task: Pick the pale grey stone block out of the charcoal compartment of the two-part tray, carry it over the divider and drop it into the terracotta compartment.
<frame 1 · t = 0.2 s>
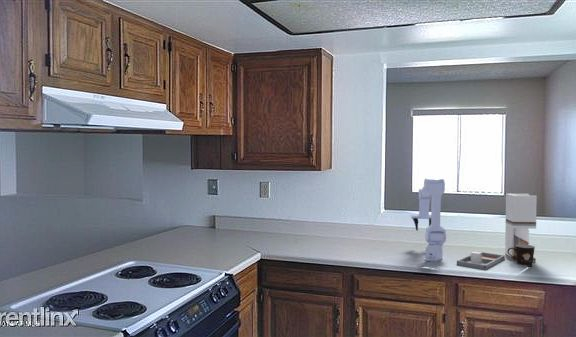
hand: (423, 230, 264), 11 cm above the worktop, tool pointing down, fingers open, 7 cm apart
stone: (476, 264, 219), point 1 cm above the worktop, touching tray
coffee maker: (520, 259, 232), on the worktop
coffee mug: (521, 265, 221), on the worktop
tray: (481, 263, 224), on the worktop
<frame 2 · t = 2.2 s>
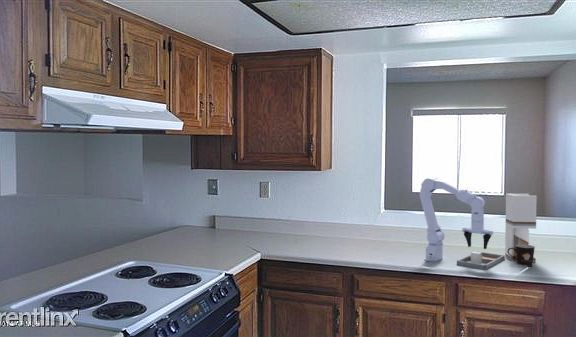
hand: (477, 247, 219), 9 cm above the worktop, tool pointing down, fingers open, 7 cm apart
nothing on the worktop moved.
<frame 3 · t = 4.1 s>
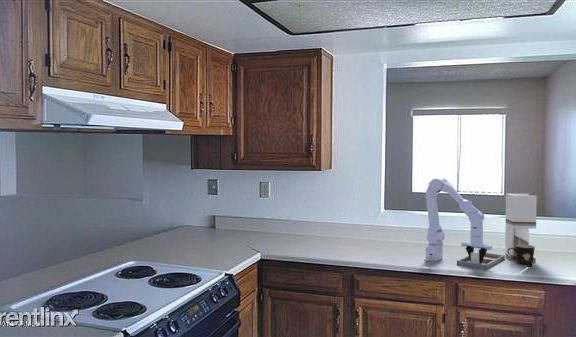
hand: (476, 262, 219), 2 cm above the worktop, tool pointing down, fingers closed on stone, 4 cm apart
stone: (476, 264, 219), point 1 cm above the worktop, touching gripper, tray
everything else where it was.
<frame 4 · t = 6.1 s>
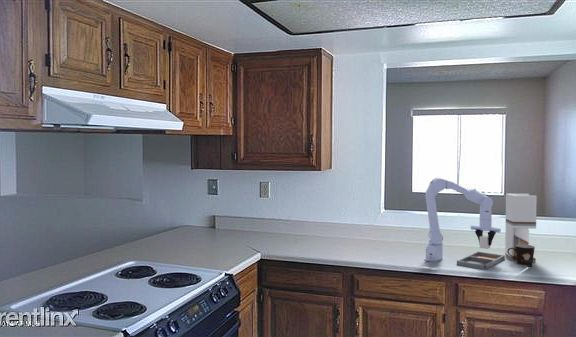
hand: (485, 244, 228), 9 cm above the worktop, tool pointing down, fingers closed on stone, 4 cm apart
stone: (484, 247, 227), point 8 cm above the worktop, touching gripper
everything else where it was.
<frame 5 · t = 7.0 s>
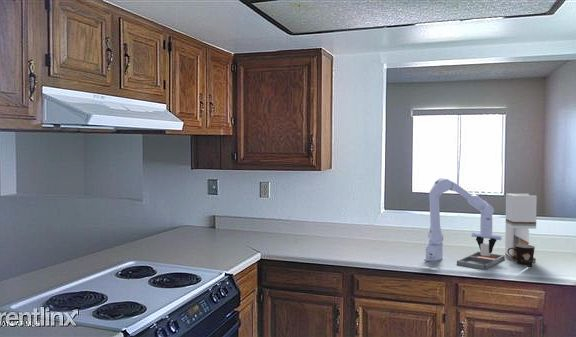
hand: (486, 251, 229), 5 cm above the worktop, tool pointing down, fingers closed on stone, 4 cm apart
stone: (485, 254, 229), point 4 cm above the worktop, touching gripper
everything else where it was.
when the fingers open (4 cm above the worktop, at t = 8.0 s): stone drops 2 cm, resting on tray.
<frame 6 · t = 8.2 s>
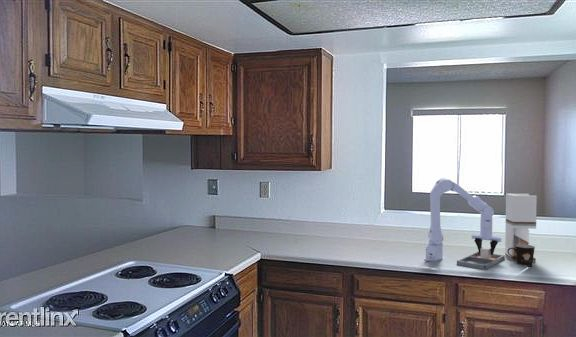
hand: (486, 253, 229), 4 cm above the worktop, tool pointing down, fingers open, 5 cm apart
stone: (485, 259, 229), point 1 cm above the worktop, touching tray
everything else where it was.
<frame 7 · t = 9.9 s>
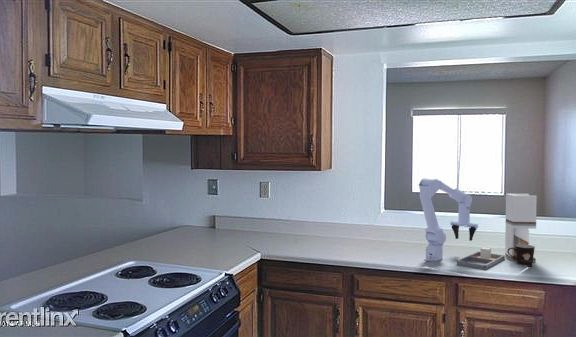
hand: (463, 239, 240), 9 cm above the worktop, tool pointing down, fingers open, 7 cm apart
nothing on the worktop moved.
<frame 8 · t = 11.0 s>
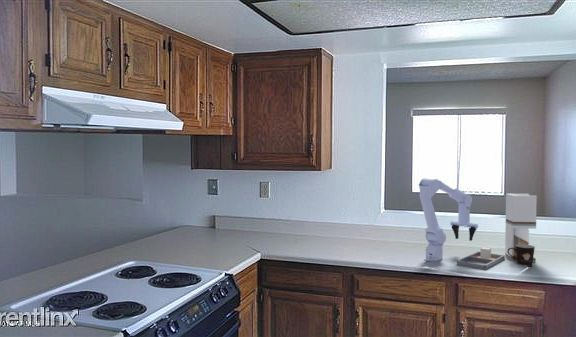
hand: (463, 239, 240), 9 cm above the worktop, tool pointing down, fingers open, 7 cm apart
nothing on the worktop moved.
at the end: stone inside the target area on the tray (0.7 cm from its centre), point 1.0 cm above the tray's base; the gripper is holding nothing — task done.
